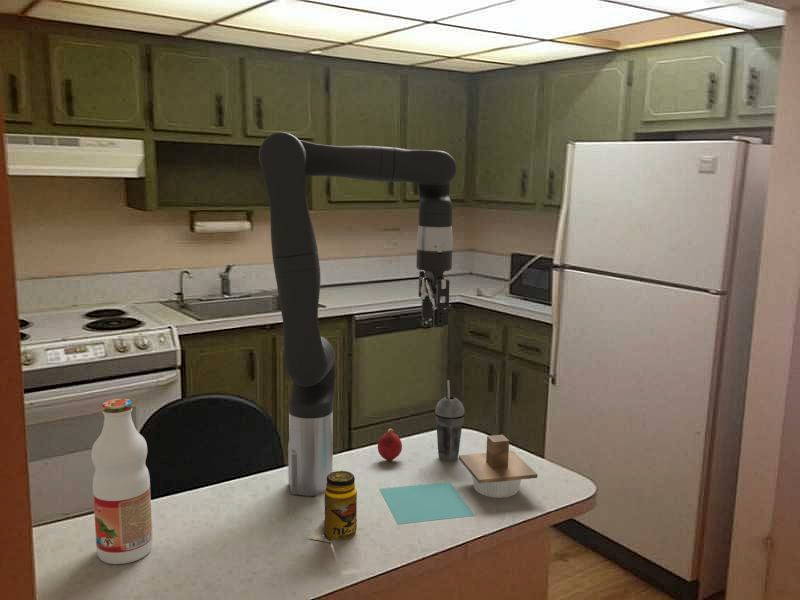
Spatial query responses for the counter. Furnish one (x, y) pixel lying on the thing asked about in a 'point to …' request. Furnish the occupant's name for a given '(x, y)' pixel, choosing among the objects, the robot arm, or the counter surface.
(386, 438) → the pomegranate
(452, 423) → the beverage cup
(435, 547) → the counter surface
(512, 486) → the ramekin
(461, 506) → the mat
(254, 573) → the counter surface
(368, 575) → the counter surface
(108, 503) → the fruit juice
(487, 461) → the lid
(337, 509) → the condiment
